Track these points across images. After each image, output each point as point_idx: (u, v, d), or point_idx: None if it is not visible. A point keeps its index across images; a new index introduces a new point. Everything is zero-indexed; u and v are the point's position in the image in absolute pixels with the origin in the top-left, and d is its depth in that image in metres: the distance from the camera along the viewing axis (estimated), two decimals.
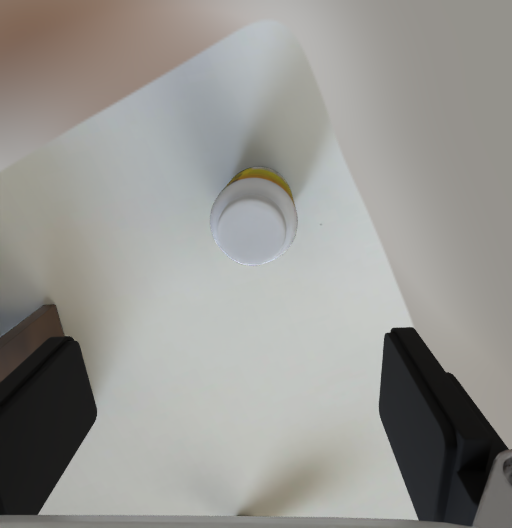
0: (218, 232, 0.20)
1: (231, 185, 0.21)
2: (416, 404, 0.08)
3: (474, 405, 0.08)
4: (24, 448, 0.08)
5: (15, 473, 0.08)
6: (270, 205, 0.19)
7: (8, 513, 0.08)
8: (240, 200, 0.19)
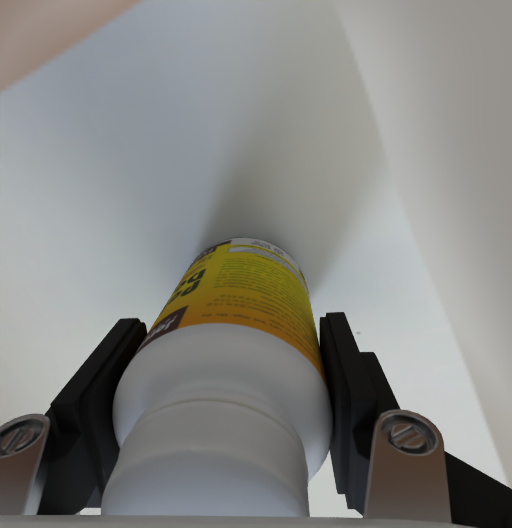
0: None
1: (159, 348, 0.08)
2: (331, 376, 0.09)
3: (384, 378, 0.09)
4: None
5: (109, 437, 0.09)
6: (262, 464, 0.06)
7: (104, 472, 0.08)
8: (165, 446, 0.06)
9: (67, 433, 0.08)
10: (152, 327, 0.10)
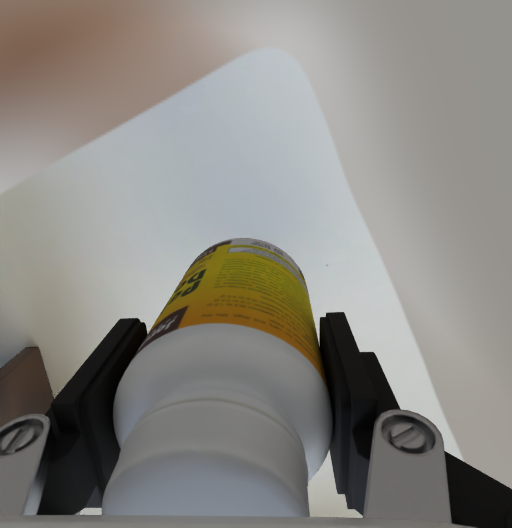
0: None
1: (159, 348, 0.08)
2: (331, 376, 0.09)
3: (384, 378, 0.09)
4: None
5: (108, 437, 0.09)
6: (262, 463, 0.06)
7: (104, 472, 0.08)
8: (166, 446, 0.06)
9: (67, 433, 0.08)
10: (152, 327, 0.10)
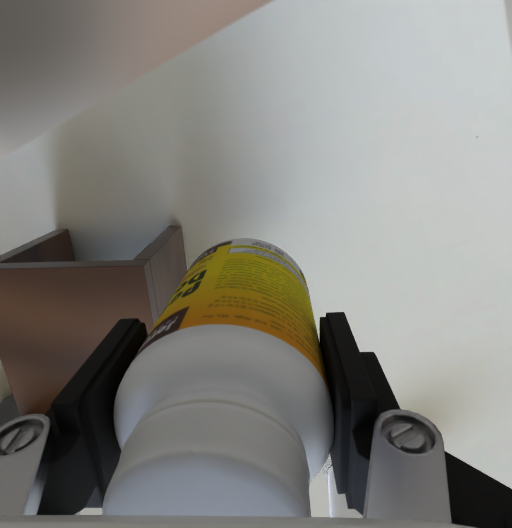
0: None
1: (160, 349, 0.08)
2: (331, 376, 0.09)
3: (384, 378, 0.09)
4: (113, 415, 0.09)
5: (109, 437, 0.09)
6: (263, 465, 0.06)
7: (104, 472, 0.08)
8: (167, 447, 0.06)
9: (67, 433, 0.08)
10: (153, 328, 0.10)
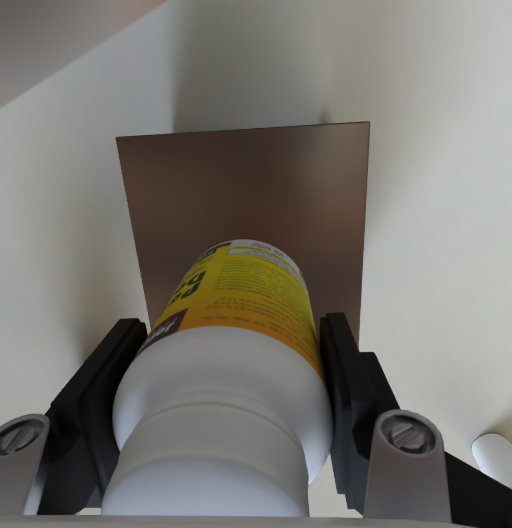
0: None
1: (159, 351, 0.08)
2: (331, 376, 0.09)
3: (384, 378, 0.09)
4: None
5: (109, 437, 0.09)
6: (262, 468, 0.06)
7: (104, 472, 0.08)
8: (165, 450, 0.06)
9: (67, 433, 0.08)
10: (152, 330, 0.10)
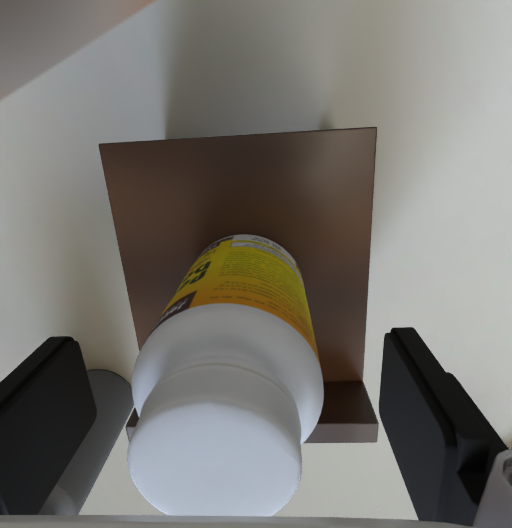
0: (131, 466, 0.08)
1: (173, 324, 0.09)
2: (416, 404, 0.08)
3: (474, 405, 0.08)
4: (24, 448, 0.08)
5: (15, 473, 0.08)
6: (262, 412, 0.07)
7: (8, 513, 0.08)
8: (183, 398, 0.07)
9: None
10: (165, 310, 0.11)
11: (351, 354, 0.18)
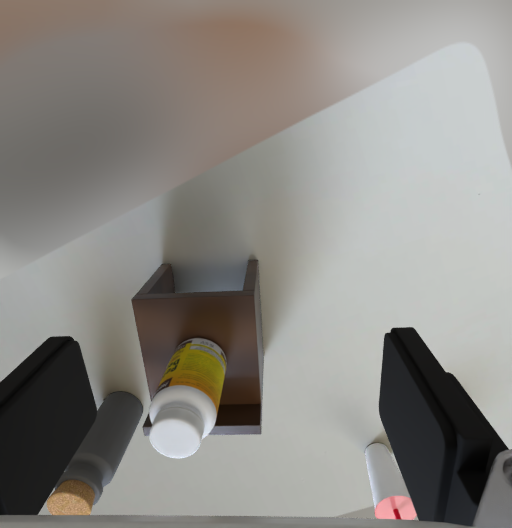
0: (150, 438, 0.27)
1: (163, 392, 0.28)
2: (416, 404, 0.08)
3: (474, 405, 0.08)
4: (24, 448, 0.08)
5: (15, 473, 0.08)
6: (187, 422, 0.26)
7: (8, 513, 0.08)
8: (165, 418, 0.26)
9: None
10: (160, 383, 0.30)
11: (254, 390, 0.37)
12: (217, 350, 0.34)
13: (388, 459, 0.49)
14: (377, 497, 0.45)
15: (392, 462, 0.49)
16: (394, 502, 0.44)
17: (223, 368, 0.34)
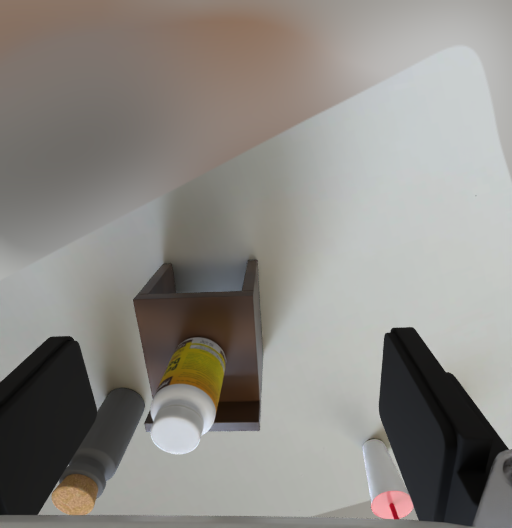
0: (151, 434, 0.28)
1: (164, 391, 0.29)
2: (416, 404, 0.08)
3: (474, 405, 0.08)
4: (24, 448, 0.08)
5: (15, 473, 0.08)
6: (187, 420, 0.27)
7: (8, 513, 0.08)
8: (166, 416, 0.27)
9: None
10: (161, 381, 0.31)
11: (252, 388, 0.38)
12: (217, 349, 0.35)
13: (385, 455, 0.50)
14: (374, 492, 0.46)
15: (389, 458, 0.50)
16: (390, 497, 0.45)
17: (222, 367, 0.35)
